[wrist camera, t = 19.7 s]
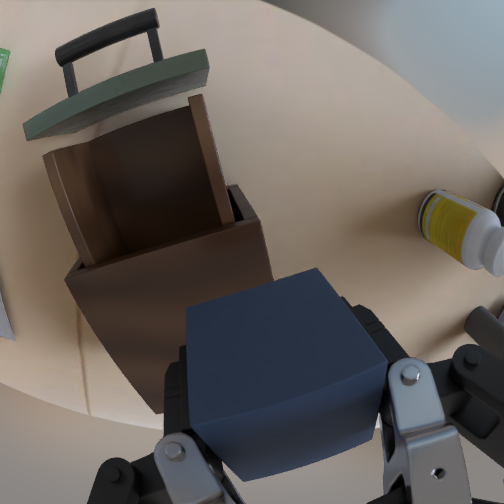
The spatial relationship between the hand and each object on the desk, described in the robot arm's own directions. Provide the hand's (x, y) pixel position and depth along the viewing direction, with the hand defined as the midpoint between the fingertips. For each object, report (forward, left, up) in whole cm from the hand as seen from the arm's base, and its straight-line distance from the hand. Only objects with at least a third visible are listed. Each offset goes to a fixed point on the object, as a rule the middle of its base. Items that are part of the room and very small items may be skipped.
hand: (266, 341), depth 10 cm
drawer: (0, -9, -16) cm, 18 cm away
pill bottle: (-17, +18, -17) cm, 30 cm away
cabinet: (+7, +3, -17) cm, 18 cm away
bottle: (-18, +47, -17) cm, 53 cm away
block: (0, 0, 0) cm, 0 cm away
